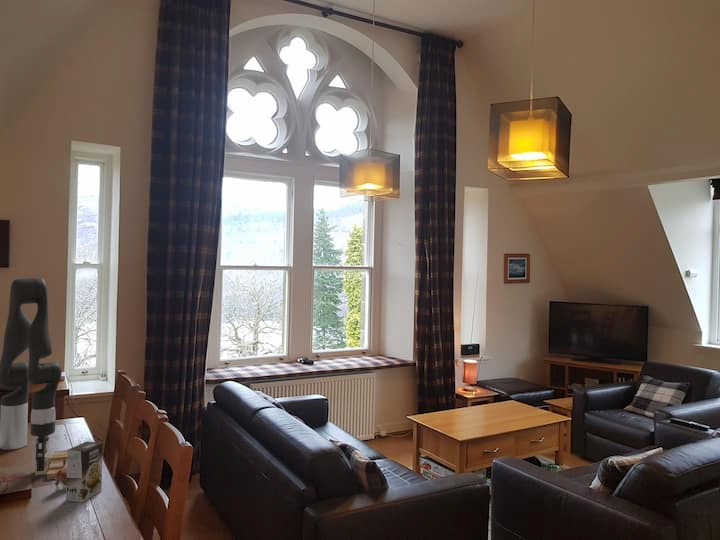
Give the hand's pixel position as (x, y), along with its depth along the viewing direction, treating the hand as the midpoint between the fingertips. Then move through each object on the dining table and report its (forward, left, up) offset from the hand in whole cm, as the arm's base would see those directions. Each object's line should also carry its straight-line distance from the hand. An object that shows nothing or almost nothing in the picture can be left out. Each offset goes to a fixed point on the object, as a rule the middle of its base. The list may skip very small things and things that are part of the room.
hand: (41, 466), depth 192 cm
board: (-5, +5, -2) cm, 7 cm away
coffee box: (+26, +15, -2) cm, 29 cm away
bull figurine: (+15, +11, -2) cm, 18 cm away
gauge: (0, +3, -2) cm, 4 cm away
